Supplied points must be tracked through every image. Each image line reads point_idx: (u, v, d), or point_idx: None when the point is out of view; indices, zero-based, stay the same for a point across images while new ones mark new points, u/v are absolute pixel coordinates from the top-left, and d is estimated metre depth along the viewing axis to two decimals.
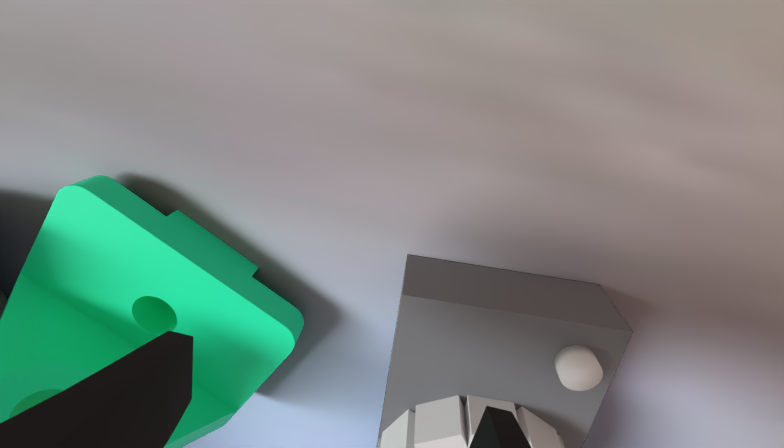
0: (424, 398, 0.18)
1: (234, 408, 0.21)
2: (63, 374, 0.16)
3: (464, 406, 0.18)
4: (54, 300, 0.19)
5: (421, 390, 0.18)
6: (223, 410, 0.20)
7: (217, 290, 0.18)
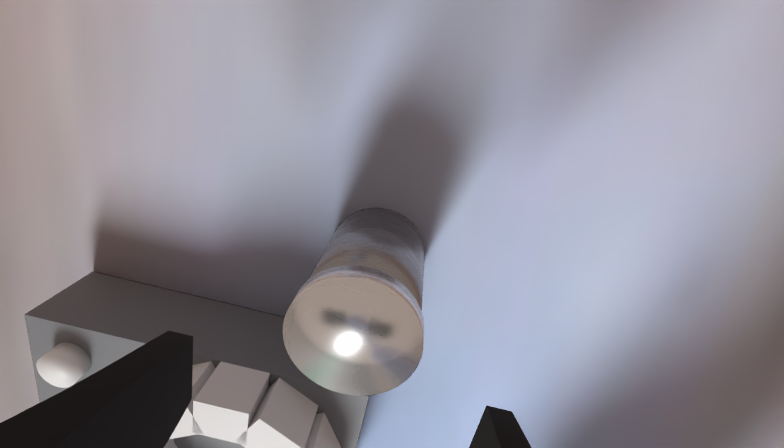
0: None
1: None
2: None
3: None
4: None
5: None
6: None
7: None
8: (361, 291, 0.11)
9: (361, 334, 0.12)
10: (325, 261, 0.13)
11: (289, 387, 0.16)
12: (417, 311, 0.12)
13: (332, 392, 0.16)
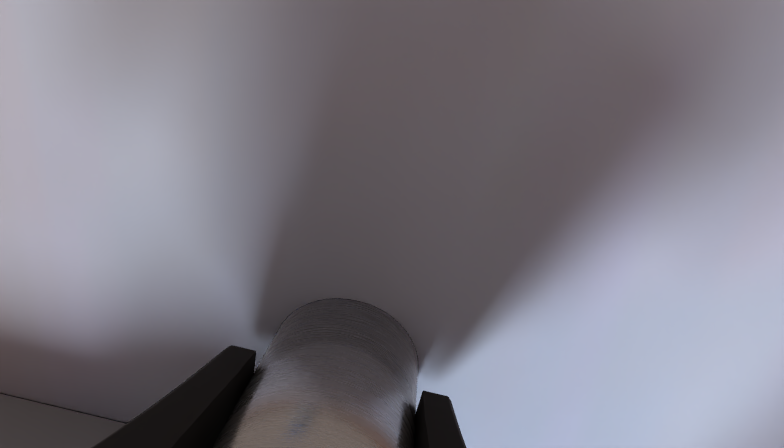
0: None
1: None
2: None
3: None
4: None
5: None
6: None
7: None
8: None
9: None
10: None
11: None
12: None
13: None
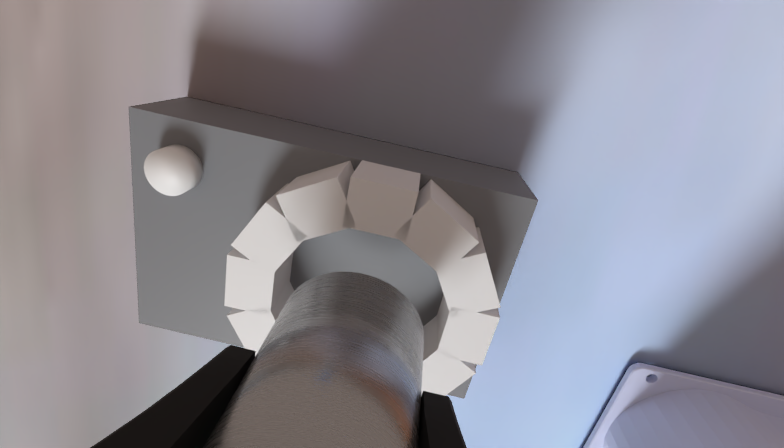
0: None
1: None
2: None
3: None
4: None
5: None
6: None
7: None
8: None
9: None
10: (241, 412, 0.07)
11: (442, 191, 0.14)
12: None
13: (493, 197, 0.14)
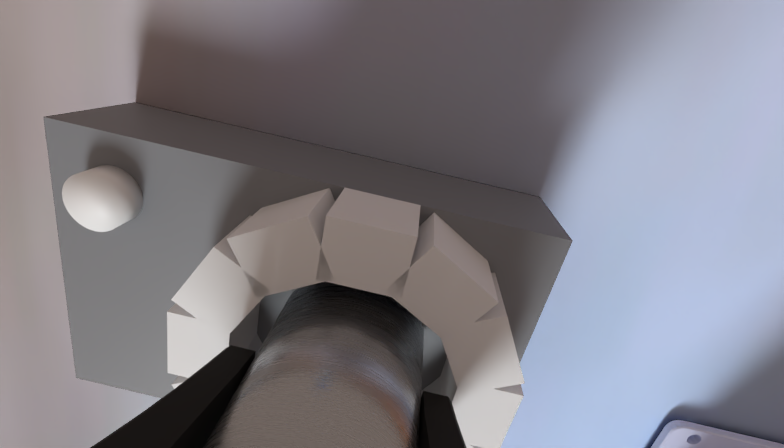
0: None
1: None
2: None
3: None
4: None
5: None
6: None
7: None
8: None
9: None
10: (240, 412, 0.07)
11: (449, 227, 0.11)
12: None
13: (514, 236, 0.11)
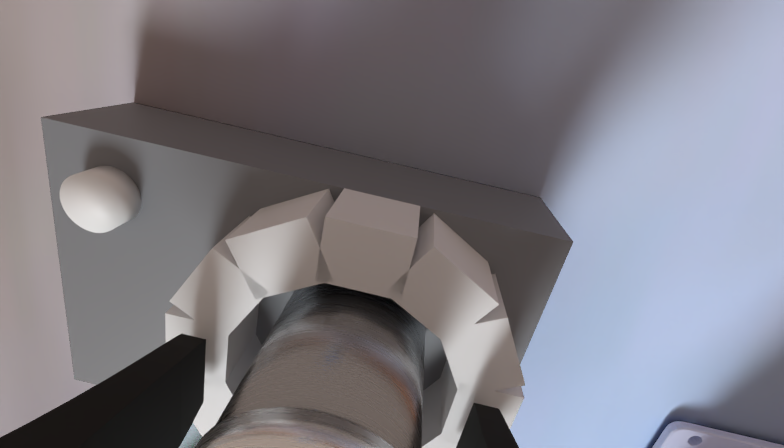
0: None
1: None
2: None
3: None
4: None
5: None
6: None
7: None
8: None
9: None
10: (260, 375, 0.08)
11: (449, 228, 0.10)
12: None
13: (515, 237, 0.11)
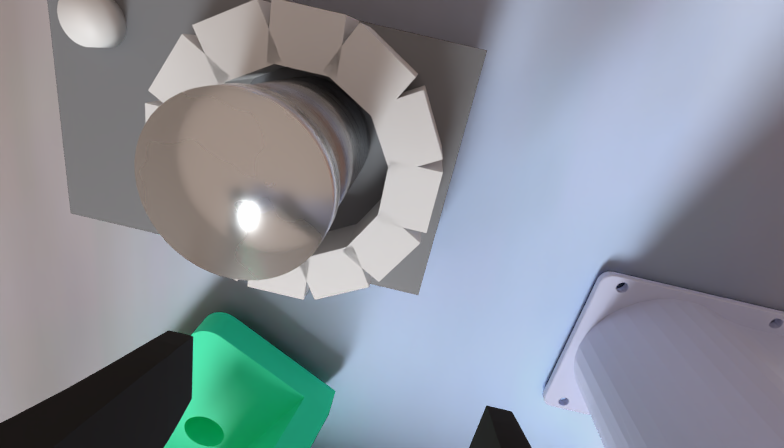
0: None
1: (301, 399, 0.20)
2: None
3: None
4: None
5: None
6: (294, 410, 0.20)
7: None
8: (243, 109, 0.08)
9: (246, 182, 0.08)
10: None
11: (383, 40, 0.13)
12: (327, 155, 0.08)
13: (439, 48, 0.13)
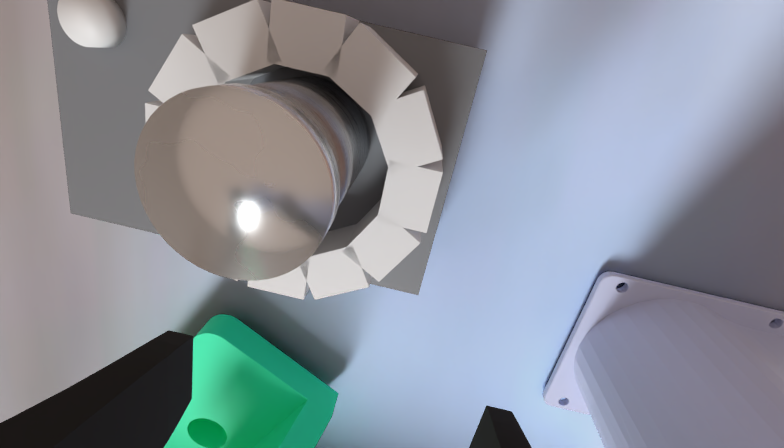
0: None
1: (304, 402, 0.20)
2: None
3: None
4: None
5: None
6: (298, 413, 0.20)
7: None
8: (243, 109, 0.08)
9: (246, 182, 0.08)
10: None
11: (383, 40, 0.13)
12: (327, 155, 0.08)
13: (439, 47, 0.13)
